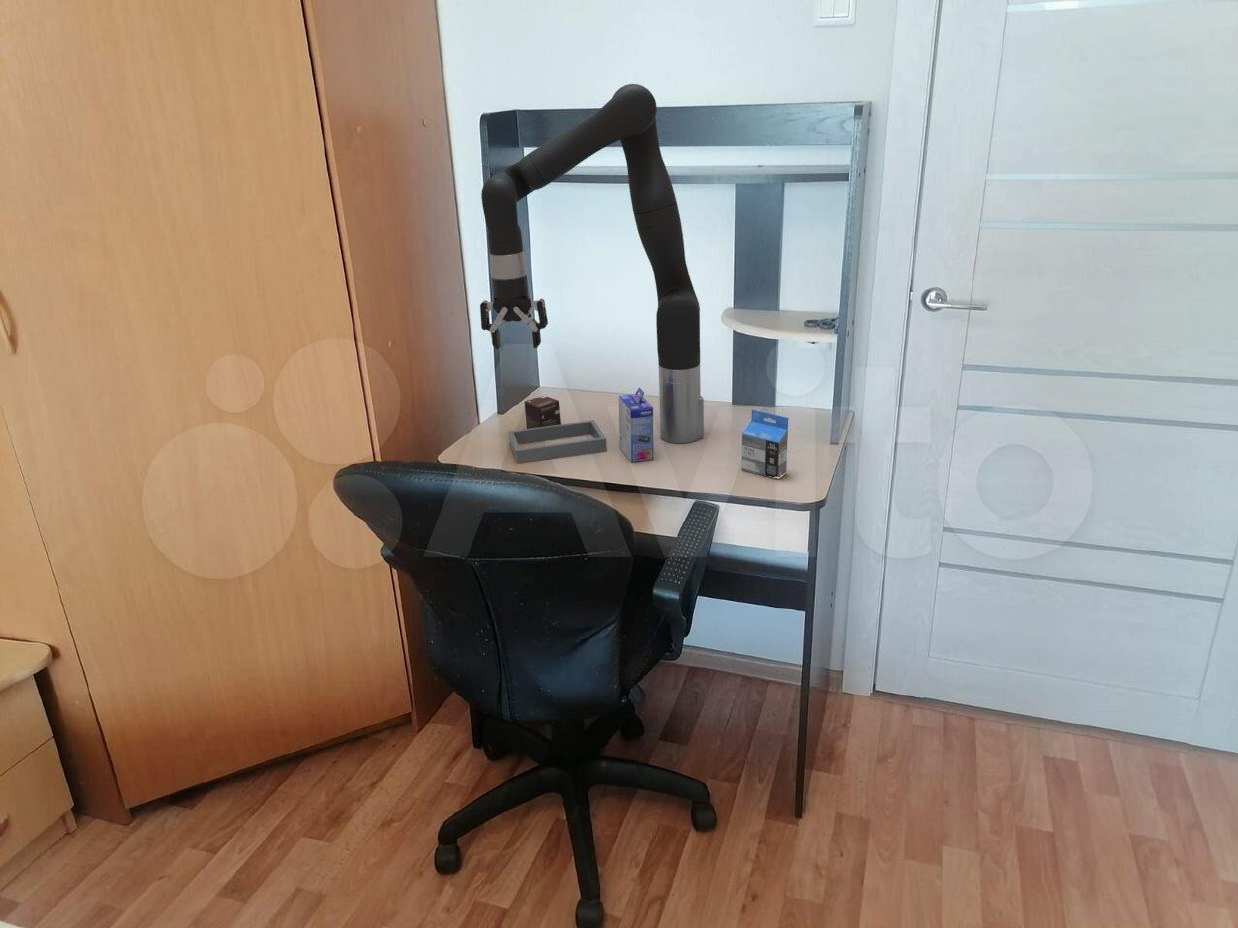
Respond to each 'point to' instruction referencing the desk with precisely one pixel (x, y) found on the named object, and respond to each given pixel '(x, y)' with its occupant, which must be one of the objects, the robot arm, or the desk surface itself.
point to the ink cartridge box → (636, 427)
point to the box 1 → (542, 412)
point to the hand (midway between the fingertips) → (517, 347)
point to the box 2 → (561, 448)
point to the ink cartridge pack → (765, 445)
